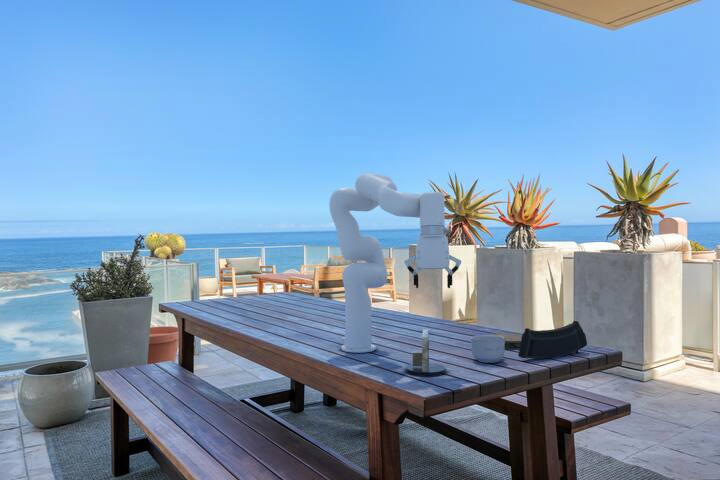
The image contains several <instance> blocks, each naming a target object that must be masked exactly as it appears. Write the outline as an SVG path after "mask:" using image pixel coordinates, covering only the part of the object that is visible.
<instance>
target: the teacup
mask: <svg viewBox="0 0 720 480" xmlns="http://www.w3.org/2000/svg"><path fill="white" fill-rule="evenodd" d="M470 342H471V343H470V344H471V345H470V346H471V347H470V348H471V353H472V354H471V355H472V356H473V358H474V359H476V360H477V361H478V362H480V363H484V364H485V363H486V364H490V363H491V364H492V363H498V362H500V361H501V360H502V359H503V358H504V357H505V351H506V349H505V347H504V344H505V338H504V337H503V336H501V335H499V336H495V335H490V334H485V335H483V334H481V335H473V336H471V337H470Z"/></svg>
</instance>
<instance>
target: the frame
mask: <svg viewBox="0 0 720 480" xmlns="http://www.w3.org/2000/svg"><path fill="white" fill-rule="evenodd" d="M429 363H430V333H429V329H427V328H426V329H425V328H423V329H422V335H421V351H415V350H414V351H412V364H413V366H422V372H428V367H429Z"/></svg>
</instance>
